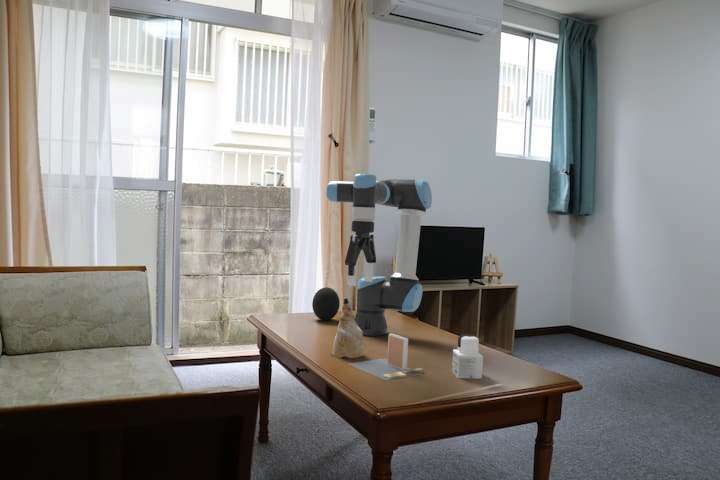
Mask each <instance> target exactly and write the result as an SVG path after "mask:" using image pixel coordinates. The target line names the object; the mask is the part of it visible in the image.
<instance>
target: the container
mask: <svg viewBox="0 0 720 480" xmlns="http://www.w3.org/2000/svg"><path fill="white" fill-rule="evenodd" d="M479 349H480V338H479V337H478V336H476V335H474V334H461V335H459V336H458V337H457V348H456V349H455V348H454V349H452V359H451V361H452V363H451V372H452V373H453V374H454V375H455V377H456V378H457V379H479V380H480V379H481V380H482V379H483V367H484V366H483V365H484V364H483V363H484V355H483V354H481V353H480V352H479Z"/></svg>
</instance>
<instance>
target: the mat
mask: <svg viewBox="0 0 720 480" xmlns="http://www.w3.org/2000/svg"><path fill="white" fill-rule="evenodd" d="M348 365H349V366H351V367H354V368H356V369H359V370H361V371H363V372H365V373H367V374H370V375H372V376H374V377H377V378H379V379H381V380H383V381H392V380H398V379H403V378H408V377H409V378H410V377H414V376H418V375H424V372H421V373H416V374H410V375H407V376H405V377H399V378H394V379H387V378H385V377H383V375H384V374H390V373H396V372H401V371H405V370H401V369H399V368H396V367H394V366H391V365H389V364H387V358H384V357H383V358H376V359H370V360H364V361H355V362H351V363H348ZM411 369H412V368H409V367H407V370H411Z"/></svg>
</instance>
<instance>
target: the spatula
mask: <svg viewBox="0 0 720 480" xmlns="http://www.w3.org/2000/svg"><path fill="white" fill-rule="evenodd" d="M410 369H411V370H405V371H401V372H396V373H390V374H384V375H383V377H385V378H387V379H393V380H395V379H394V378H398V379H400V378H399V377H404V378H406V377H405V376H407V375H410V374H416V373H424V370H425V369H424V368H422V367H417V368H413V369H412V368H410Z"/></svg>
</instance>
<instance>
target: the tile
mask: <svg viewBox="0 0 720 480" xmlns="http://www.w3.org/2000/svg"><path fill="white" fill-rule="evenodd" d="M408 349H409V338H408V337H404V336H402V335H398V334H394V333H388V341H387V357H386V359H387V364H389V365H391V366H394V367H396V368H399V369H401V370H407V368H408V354H409V352H408Z"/></svg>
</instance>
